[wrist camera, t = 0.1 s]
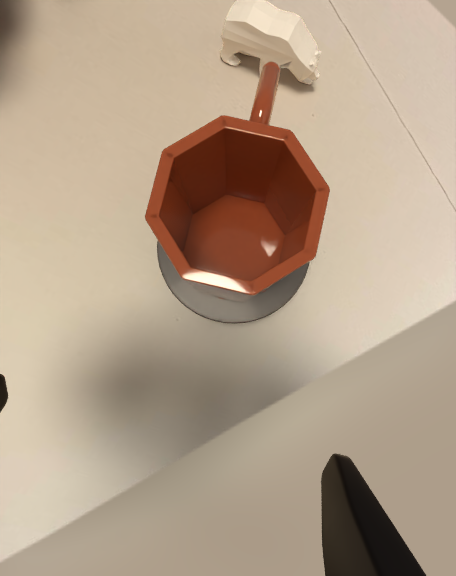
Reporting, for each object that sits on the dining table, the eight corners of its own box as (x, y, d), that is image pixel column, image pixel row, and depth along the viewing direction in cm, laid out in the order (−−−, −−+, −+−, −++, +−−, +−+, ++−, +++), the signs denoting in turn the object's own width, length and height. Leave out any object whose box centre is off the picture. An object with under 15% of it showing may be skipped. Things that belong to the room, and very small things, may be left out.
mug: (275, 311, 21) (305, 308, 13) (167, 286, 21) (130, 267, 13) (311, 149, 22) (360, 53, 14) (207, 126, 22) (196, 17, 14)
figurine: (232, 35, 27) (233, -23, 22) (319, 79, 26) (339, 28, 22) (218, 60, 27) (216, 6, 22) (306, 104, 26) (322, 59, 22)
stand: (314, 301, 25) (330, 298, 21) (187, 337, 25) (179, 341, 21) (276, 179, 26) (285, 154, 22) (153, 213, 25) (140, 194, 21)
